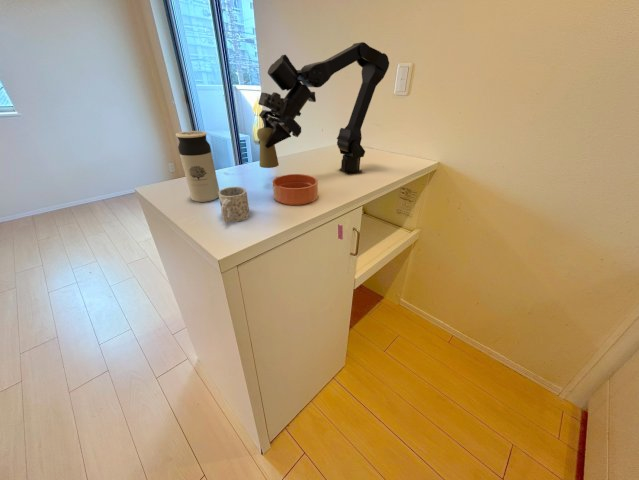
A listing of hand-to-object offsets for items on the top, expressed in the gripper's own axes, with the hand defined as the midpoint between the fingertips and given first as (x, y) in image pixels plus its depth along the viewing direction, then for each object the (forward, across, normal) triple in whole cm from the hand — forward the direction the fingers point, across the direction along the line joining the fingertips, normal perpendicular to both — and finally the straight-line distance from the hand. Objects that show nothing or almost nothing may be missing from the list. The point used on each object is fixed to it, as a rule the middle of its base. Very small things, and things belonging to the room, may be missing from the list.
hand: (262, 145), depth 78 cm
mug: (+21, +17, -2) cm, 27 cm away
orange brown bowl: (+6, +12, +12) cm, 19 cm away
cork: (+4, 0, +6) cm, 7 cm away
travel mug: (+23, -1, -4) cm, 23 cm away
